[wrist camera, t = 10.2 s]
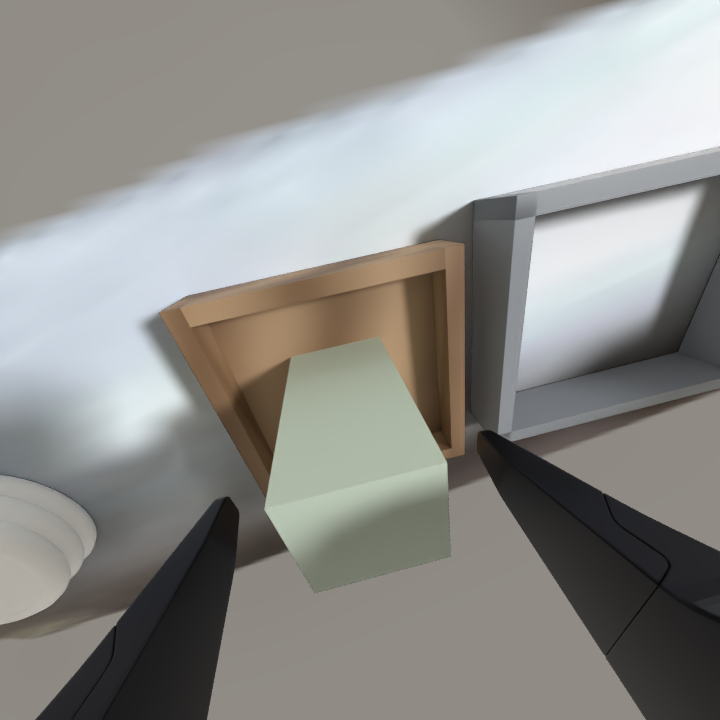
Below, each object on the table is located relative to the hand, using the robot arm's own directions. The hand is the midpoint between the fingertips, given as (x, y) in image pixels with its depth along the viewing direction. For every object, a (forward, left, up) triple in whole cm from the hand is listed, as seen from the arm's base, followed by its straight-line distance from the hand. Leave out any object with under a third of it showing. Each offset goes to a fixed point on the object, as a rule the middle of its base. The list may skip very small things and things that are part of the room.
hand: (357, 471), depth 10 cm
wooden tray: (0, 0, -7) cm, 7 cm away
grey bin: (-16, -1, -7) cm, 17 cm away
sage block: (0, 0, -6) cm, 6 cm away
